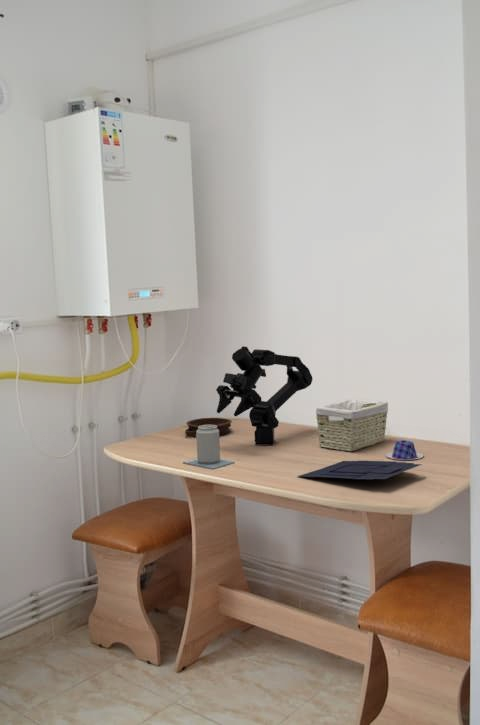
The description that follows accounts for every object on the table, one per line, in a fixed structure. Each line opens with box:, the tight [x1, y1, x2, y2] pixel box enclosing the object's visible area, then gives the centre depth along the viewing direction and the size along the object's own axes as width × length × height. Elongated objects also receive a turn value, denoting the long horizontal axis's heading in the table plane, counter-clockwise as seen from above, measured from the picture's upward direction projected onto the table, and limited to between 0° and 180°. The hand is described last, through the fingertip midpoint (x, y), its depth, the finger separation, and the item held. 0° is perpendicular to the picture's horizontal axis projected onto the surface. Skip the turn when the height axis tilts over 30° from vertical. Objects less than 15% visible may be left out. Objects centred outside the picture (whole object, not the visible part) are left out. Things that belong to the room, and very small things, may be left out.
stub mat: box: [182, 457, 236, 470], centre depth 251 cm, size 14×10×1 cm
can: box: [195, 425, 221, 464], centre depth 250 cm, size 8×8×12 cm
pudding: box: [385, 439, 424, 461], centre depth 251 cm, size 12×12×5 cm
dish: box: [184, 417, 233, 437], centre depth 298 cm, size 18×22×5 cm
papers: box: [299, 460, 423, 480], centre depth 228 cm, size 24×30×4 cm
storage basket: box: [315, 398, 389, 452], centre depth 270 cm, size 24×16×15 cm
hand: (226, 414), depth 263 cm, fingers open, 9 cm apart
